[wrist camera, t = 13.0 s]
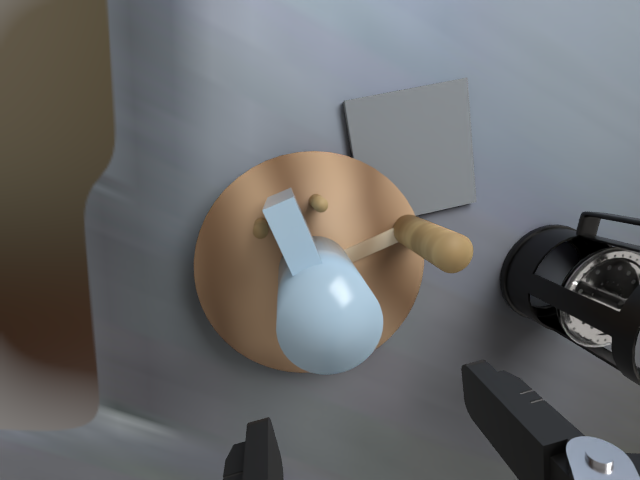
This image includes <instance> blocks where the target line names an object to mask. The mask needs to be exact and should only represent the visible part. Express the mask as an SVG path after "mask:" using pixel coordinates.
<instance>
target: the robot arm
mask: <svg viewBox="0 0 640 480" xmlns="http://www.w3.org/2000/svg"><path fill="white" fill-rule="evenodd" d="M461 370H462V381H463V391H464V401H465V405H466V408H467V411H468V413H469V415H470V417H471V418H472V420H473V421H474V422H475V424H476V425H477V426H478V428H479V429H480V430H481V431H482V433H483V434H484V435H485V437H486V438H487V439H488V440H489V442H490V443H491V444H492V446H493V447H494V448H495V449H496V451H497V452H498V453H499V455H500V456H501V457H502V458H503V460H504V461H505V462H506V464H507V465H508V466H509V467H510V469H511V470H512V471H513V473H514V474H515V475H516V476H517V478H518V479H519V480H640V454H631V453H624V452H623V451H622V450H620V449H619V448H618V447H616V446H614V445H613V444H611V443H609V442H607V441H604V440H602V439H598V438H595V437H588V436H585V435H583V434H582V433H581V432H580V431H579V430H578V429H577V428H575V427H574V426H573V425H572V424H571V423H570V422H569V421H568V420H566V419H565V418H564V417H563V416H562V415H561V414H560V413H558V412H557V411H556V410H555V409H554V408H553V407H552V406H551V405H549V404H548V403H547V402H546V401H545V400H544V401H543V399H542V398H541V397H540V396H539V395H538V394H537V393H536V392H535V391H532V389H531V388H530V387H529V386H528V385H527V384H526V383H524V382H523V381H522V380H521V379H520V378H518V377H516V376H514V375H512V374H510V373H508V372H506V371H500V372H497V371H496V370H495V369H494V368H493V367H492V366H491V365H490V364H489V363H487V362H486V361H485V360H480V361H476V362H472V363H469V364H465V365H463V366H462V369H461ZM223 480H283V467H282V460H281V455H280V451H279V447H278V444H277V440H276V437H275V433H274V430H273V426H272V423H271V420H270V418H269V417H268V418H264V419H261V420H257V421H253V422H250V423H248V424H247V431H246V441H245V442H242V443H238V444H234V445H233V447H232V449H231V451H230V453H229V455H228V456H227V458H226V460H225V467H224V474H223Z"/></svg>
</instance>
